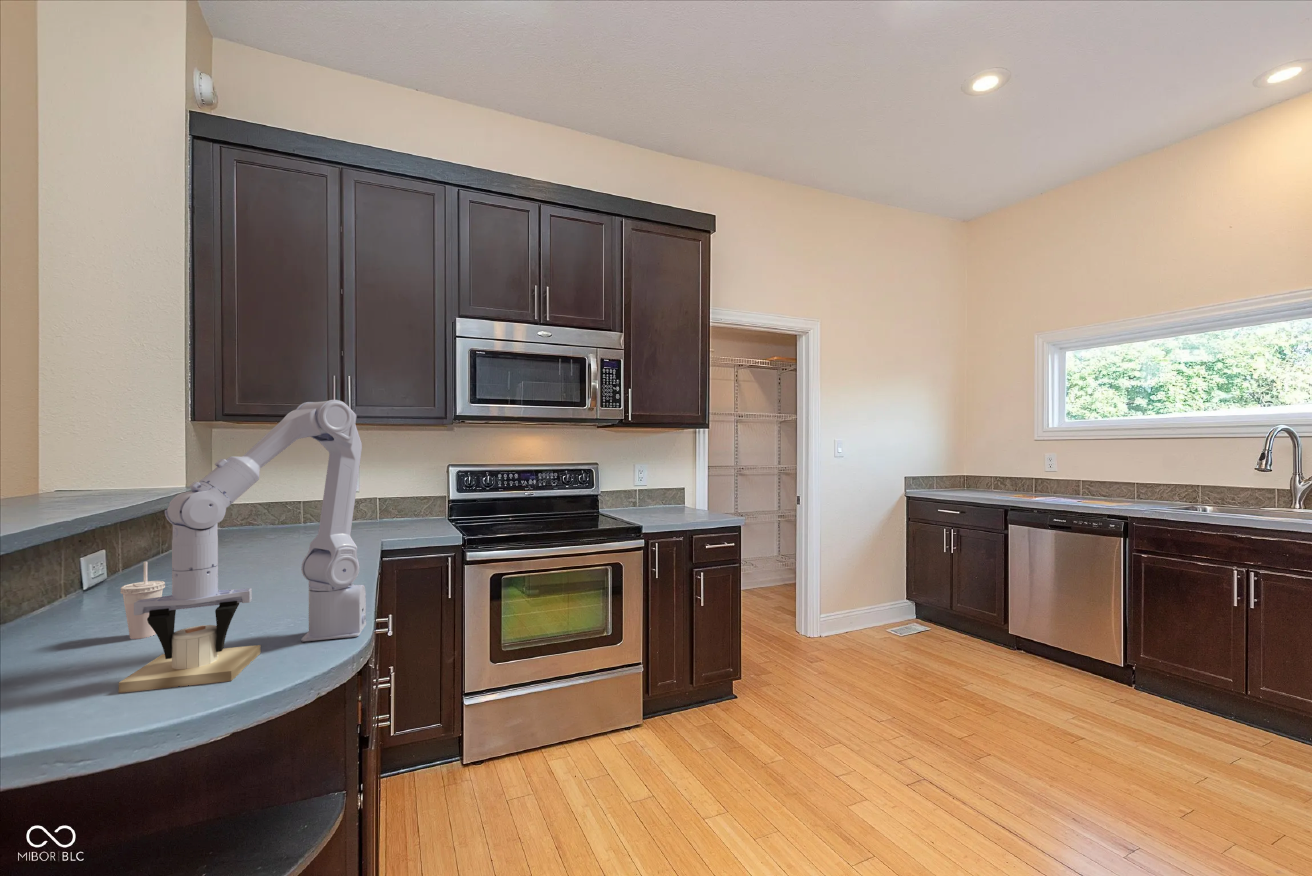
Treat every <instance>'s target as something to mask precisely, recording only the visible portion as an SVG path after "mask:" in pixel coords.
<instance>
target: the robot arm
mask: <svg viewBox="0 0 1312 876" xmlns="http://www.w3.org/2000/svg"><path fill="white" fill-rule="evenodd" d="M356 422H357V413H355V412H354V411H353V410H352V409H351V408H350V406H348V404H346V403H345V402H344V401H342V400H339V399H330V400H326V401H307V402H306V401H305V402H303V403H301V404H299V405H298V406H297V407H296V409H293V410H292V411H290V412H288V413H287V414H286V415H285V416H284V417H283V418H282V419H281V420H280V421H279V422H278V423H277V424H276V425H275V426H274V427H273V428H271V429H270V430H269V431H268V432H267V433H266V434H265V435H264V436H263V437H262V438H260V439H259V440H258V441H257V443H255V444H254V445H253V446H252V447H251V448H250V449H249V450H247V452H245V453H244V454H243V455H242V456H238V455H237V456H233V455H232V456H229V457H228V458H226V459H225V458H220V459H218V460H217V461H216V462H214V465H215V468H214V469H213V470H211V471H210V472H209V473H208V474H207V475H205V476H204V477H202V479H201V480H199V481H194V482H192V483H191V484H190V485H189V488H190V489H191V491H186V492H181V493H179V494H177V495H176V496H174V497H173V498H172V499H171V500H170V502H169V503H168V506H167V509H165V510H164V516H165V518H166V520H167V521H168V522H169V523H170V524H171V525H172V539H171V563H172V564H171V570H172V571H171V572H172V573H171V594H170V595H162V597H156V598H150V599H142V600H137V601H136V602H135V603H134V615H142V614H144V613H149V617H148V618H147V621H148V624H149V625H150V626H151V627H152V629H153V630H154V631H155V633H156V634H155V635H156V636H157V638H158V639H159V642H160V644H161V647H162V650H163V652H164V653H163V654H165V659H171V658H172V634H173V633H174V632H175V623H176V612H177V610H185V609H196V608H202V607H203V608H204V607H212V606H213V607H214V606H218V607H216V608H215V609H214V610H215V611H214V612H215V621H216V625H215V626H217V637H216V652H220V651H222V650H223V648H225V642H226V637H227V635H228V634H227V633H228V631H229V627H230V625H231V622H232V619H233V617H234V615H235V613H236V611H237V609H238V607H239V606H240V603H242V604H247V603H251V602H252V600H253V599H252V597H253V591H252V590H253V589H252V587H250V588H238V589H237V588H235V589H234V588H233V589H219V537H218V534H219V533H218V526H219V525H218V524H219V523H220V522H222V521H223V520H224V518H225V516H226V513H227V512H226V511H227V508H229V507H230V506H231V505H232V504H233V503H234V502H235V501H237V500H238V499H239V498H240V497H241V496H243V494H245V493H246V492H247V491H248V490H249V489H251V488H252V487H253V486H254V485H255V484H256V483H257V482H258V481H259V480H260V473H261V471H260V470H261V469H262V468H263V467H264V466H265V465H267V464H268V463H269V462H271V461H272V460H273V459H275V458H276V457H277V456H278V455H279V454H281V453H283V451H285V450H286V449H287V448H289V447H290V446H291V445H293V444H294V443H295V442H296V441H297V440H300V439H306V438H312V439H313V440H315V441H317V442H319V444H320V445H321V446H322V447H323V448H324V449H325V450H327V452H328V455H329V456H328V460H327V461H328V462H327V467H326V475H325V476H326V477H325V483H324V490H323V497H322V505H321V511H320V519H319V525H318V534H317V535H316V536H315V537H314V538H313V540H312V541H311V542H310V543H309V548H308V552H307V554H306V556H305V557H304V558H303V560H302V562H301V567H300V568H301V574H302V576H303V577H304V579H306V580H307V581H308V631H307V632H306V633H305V634H304V635H303V636H302V638H301V639H300V640H301V642H311V641H323V640H334V639H344V638H354V637H355V638H356V637H359V636H360V635H361V633H362V632H363V630H364V628H365V627H366V626H367V620H366V619H367V617H366V615H367V614H366V612H367V611H366V610H367V606H366V604H367V603H366V602H367V600H366V597H367V595H366V587H365V585H364V584H354V581H355V580H356V579H357V578H358V575H359V573H360V562H359V559H358V546H357V544H356V543H355V541H354V539H353V538H352V536H351V533H352V532H351V531H352V527H353V526H352V524H353V517H354V509H355V503H356V496H357V495H356V494H357V488H358V487H357V486H358V481H359V480H358V479H359V473H360V466H361V465H360V464H361V457H362V450H363V443H362V440H361V437H360V434H359V431H358V428H357V425H356Z"/></svg>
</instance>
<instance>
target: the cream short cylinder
mask: <svg viewBox="0 0 1312 876" xmlns="http://www.w3.org/2000/svg"><path fill="white" fill-rule="evenodd" d="M216 637H217V625H215V624H214V625H213V624H205V625H204V624H203V625H195V626H190V627H186V628H183V629H179V630H177V631H174V633H173V634H172V668H175V669H190V668H196V667H200V666H204V665H207V664H210V663H212V662H214V661H216V660H217V659H218V652H216Z"/></svg>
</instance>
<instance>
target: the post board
mask: <svg viewBox="0 0 1312 876" xmlns="http://www.w3.org/2000/svg"><path fill="white" fill-rule="evenodd" d="M261 651H262V650H261V644H258V645H246V646H236V647H226V648H225V647H224V648H223V650H222V651H220V652H218V659H217V660H216V661H214V662H212V663H210V664H207V665H204V666H200V667H196V668H190V669H175V668H172V658H171V659H165V654H164V653H162V654H161V655H159V656H158V657H156V658H154V659H153V660H151V661H150V662H148V663H147V664H145V665H143V666H142V667H140V668H139V669H138V670H136V671H134V672H133V673H131V674H130V675H129V676H127V677H125V678H124V679H122V680H121V681H119V682H118V694H122V693H132V692H133V693H134V692H139V691H140V692H141V691H143V692H144V691H150V690H159V689H169V688H171V689H172V688H178V686H180V687H187V686H188V685H189V686H196V685H207V684H215V683H217V684H218V683H224V682H226V683H227V682H232V681H233V680H234V679H235V678H236V677H238V676H239V675H240V674H241V673H242V672H243V671H244V670H245V669H246V668H247V667H248V666H249V665H251V663H252V662H253V661H255V660H256V659H257V658H258V657H259V656H260V655H261V654H260V653H261ZM258 655H259V656H258ZM257 656H258V657H257ZM251 661H252V662H251ZM250 662H251V663H250ZM247 665H248V666H247ZM246 666H247V667H246ZM245 667H246V668H245ZM244 668H245V669H244ZM243 669H244V670H243ZM242 670H243V671H242Z"/></svg>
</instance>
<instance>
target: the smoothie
mask: <svg viewBox="0 0 1312 876" xmlns="http://www.w3.org/2000/svg"><path fill="white" fill-rule="evenodd" d="M165 588H166V582H165V581H163V580H151V581H150V580H148V561H143V581H140V582H133V583H130V584H129V583H128V584H125V585H122V586H121V587H120V592H119V593H120V594H121V595H122V598H123V603H124V611H125V616H126V623H127V628H128V634H129V638H130V639H131V640H141V639H147V638H151V637H153V635H154V636H155V635H157V634H156V633H155V631H154V630H153V629H152V627H151V626H150V625H149V624H148V621H147V618H148V617H149V613H144V614H142V615H134V603H135V602H136V601H137V600H142V599H150V598H156V597H163V589H165ZM150 636H151V637H150ZM146 637H147V638H146Z"/></svg>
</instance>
